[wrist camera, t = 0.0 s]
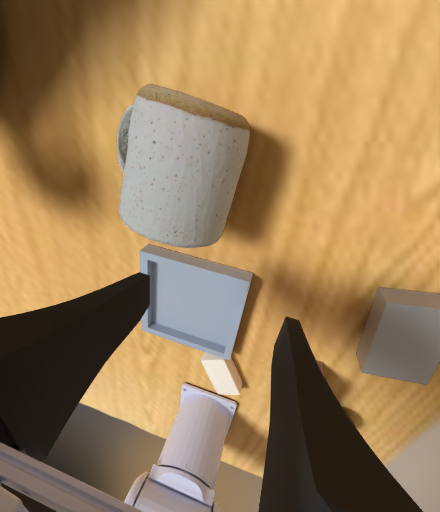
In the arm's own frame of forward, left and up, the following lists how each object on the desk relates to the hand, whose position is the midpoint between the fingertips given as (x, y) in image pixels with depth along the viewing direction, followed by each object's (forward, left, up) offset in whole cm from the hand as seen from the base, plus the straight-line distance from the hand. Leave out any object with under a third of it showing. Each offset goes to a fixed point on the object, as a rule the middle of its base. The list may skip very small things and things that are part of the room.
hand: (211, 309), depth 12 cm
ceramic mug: (+5, +6, -10) cm, 13 cm away
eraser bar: (-18, -1, -10) cm, 21 cm away
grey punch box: (-5, -15, -10) cm, 19 cm away
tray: (-9, +4, -10) cm, 14 cm away
